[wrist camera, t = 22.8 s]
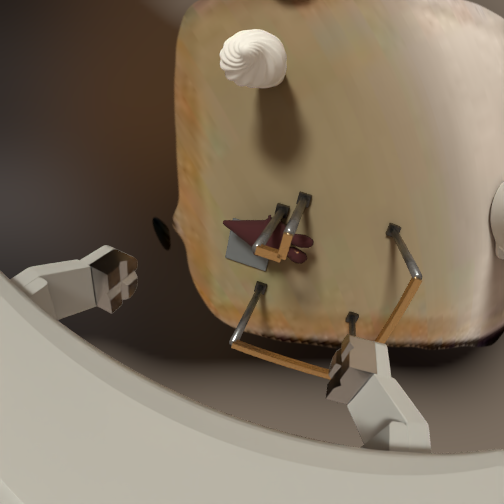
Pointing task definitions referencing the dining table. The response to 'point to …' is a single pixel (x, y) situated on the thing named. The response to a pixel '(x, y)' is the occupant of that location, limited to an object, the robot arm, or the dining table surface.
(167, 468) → the robot arm
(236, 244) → the mat
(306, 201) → the wire frame
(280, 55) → the soft serve ice cream cone
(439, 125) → the dining table surface
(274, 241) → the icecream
